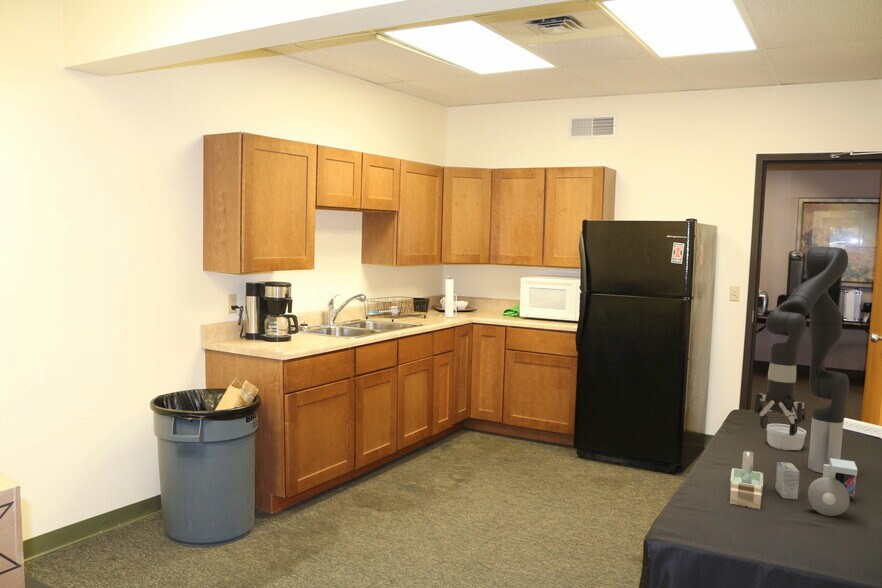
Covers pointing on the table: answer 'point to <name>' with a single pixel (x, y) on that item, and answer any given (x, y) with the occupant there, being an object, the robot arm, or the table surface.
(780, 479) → the medicine box
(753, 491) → the wooden square frame
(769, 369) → the robot arm
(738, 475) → the tray
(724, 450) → the table surface
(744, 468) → the pin
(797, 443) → the ramekin
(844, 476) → the supplement container
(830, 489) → the trolley wheel
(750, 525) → the table surface
